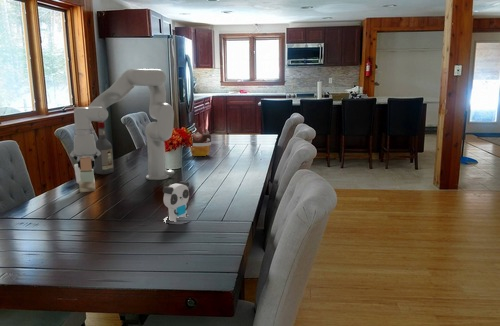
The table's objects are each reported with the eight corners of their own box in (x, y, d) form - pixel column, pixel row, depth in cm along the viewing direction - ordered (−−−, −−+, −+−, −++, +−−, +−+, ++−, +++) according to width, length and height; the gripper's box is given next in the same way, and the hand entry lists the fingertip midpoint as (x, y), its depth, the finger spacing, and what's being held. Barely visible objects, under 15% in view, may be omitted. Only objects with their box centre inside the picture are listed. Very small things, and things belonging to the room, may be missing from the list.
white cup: (85, 184, 222) (84, 166, 220) (72, 183, 224) (71, 165, 222) (94, 181, 230) (92, 163, 228) (81, 180, 231) (79, 162, 229)
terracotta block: (92, 168, 214) (91, 156, 212) (91, 170, 209) (90, 158, 208) (81, 168, 212) (80, 157, 211) (80, 170, 207) (79, 158, 206)
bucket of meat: (210, 158, 296) (210, 130, 292) (187, 158, 296) (186, 129, 292) (212, 153, 316) (212, 126, 312) (190, 153, 315) (189, 126, 311)
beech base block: (95, 187, 217) (94, 178, 216) (94, 191, 210) (94, 181, 209) (80, 188, 215) (80, 179, 214) (79, 192, 208) (79, 182, 207)
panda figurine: (177, 227, 160) (176, 189, 157) (156, 222, 166) (154, 185, 163) (197, 218, 170) (197, 182, 167) (176, 213, 176) (175, 179, 173)
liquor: (92, 173, 248) (89, 122, 242) (103, 170, 256) (100, 121, 250) (105, 174, 244) (102, 123, 238) (115, 171, 253) (112, 121, 247)
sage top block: (94, 178, 215) (93, 169, 214) (93, 181, 210) (93, 171, 209) (81, 179, 213) (80, 169, 212) (80, 182, 208) (80, 172, 207)
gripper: (102, 130, 213) (104, 166, 216) (65, 132, 208) (69, 168, 211) (101, 132, 206) (104, 169, 209) (64, 134, 201) (67, 171, 204)
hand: (86, 168), depth 210 cm, fingers closed on terracotta block, 5 cm apart
